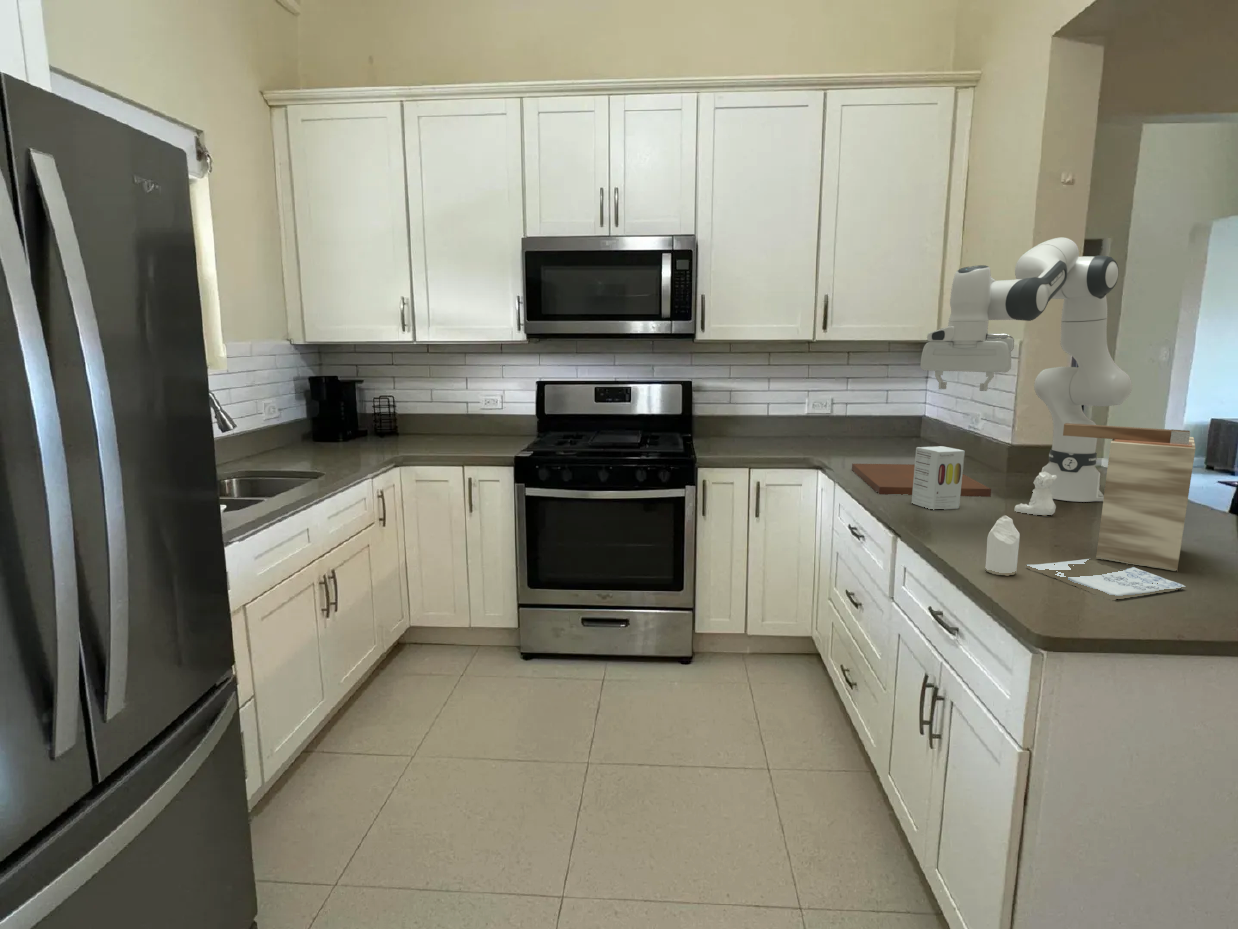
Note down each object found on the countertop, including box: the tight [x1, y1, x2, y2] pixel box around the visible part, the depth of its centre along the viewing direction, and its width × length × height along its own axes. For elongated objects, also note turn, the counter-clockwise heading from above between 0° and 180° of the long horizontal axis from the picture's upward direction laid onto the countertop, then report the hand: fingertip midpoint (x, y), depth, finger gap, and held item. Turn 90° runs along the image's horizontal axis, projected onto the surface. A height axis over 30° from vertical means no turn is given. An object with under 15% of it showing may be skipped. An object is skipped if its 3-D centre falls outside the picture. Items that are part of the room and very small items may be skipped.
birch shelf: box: [1095, 436, 1196, 571], centre depth 154 cm, size 20×14×26 cm
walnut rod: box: [1063, 423, 1191, 445], centre depth 151 cm, size 4×22×2 cm, turn 53°
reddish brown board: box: [851, 463, 992, 498], centre depth 234 cm, size 40×3×33 cm
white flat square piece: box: [1026, 558, 1187, 596], centre depth 141 cm, size 19×20×2 cm
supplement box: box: [911, 445, 965, 511], centre depth 200 cm, size 10×9×17 cm
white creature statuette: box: [1013, 471, 1057, 516], centre depth 191 cm, size 10×9×12 cm
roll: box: [985, 515, 1021, 573], centre depth 144 cm, size 6×12×6 cm
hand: (962, 390), depth 174 cm, fingers open, 8 cm apart
